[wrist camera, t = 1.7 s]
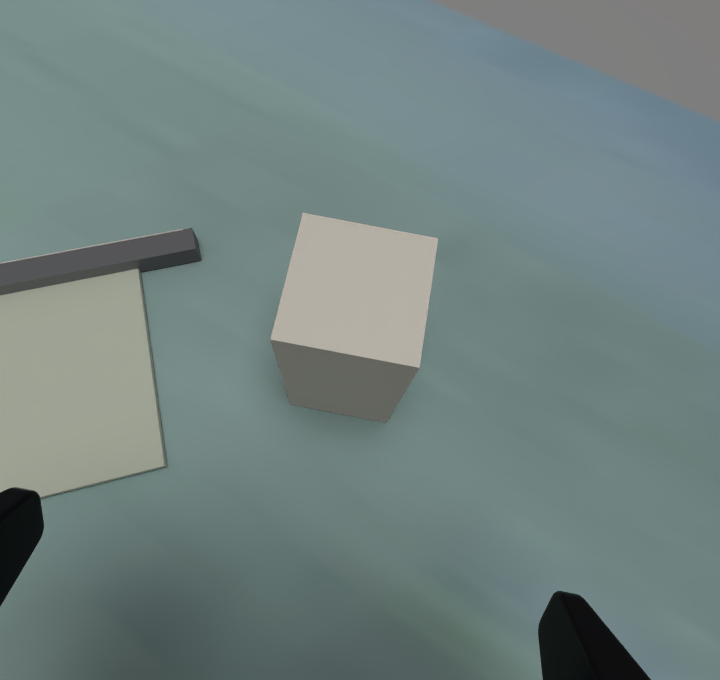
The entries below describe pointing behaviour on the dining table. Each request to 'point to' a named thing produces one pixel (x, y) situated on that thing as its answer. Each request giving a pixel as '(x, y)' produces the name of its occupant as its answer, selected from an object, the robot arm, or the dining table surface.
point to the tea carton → (353, 316)
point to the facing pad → (77, 386)
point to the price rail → (100, 260)
